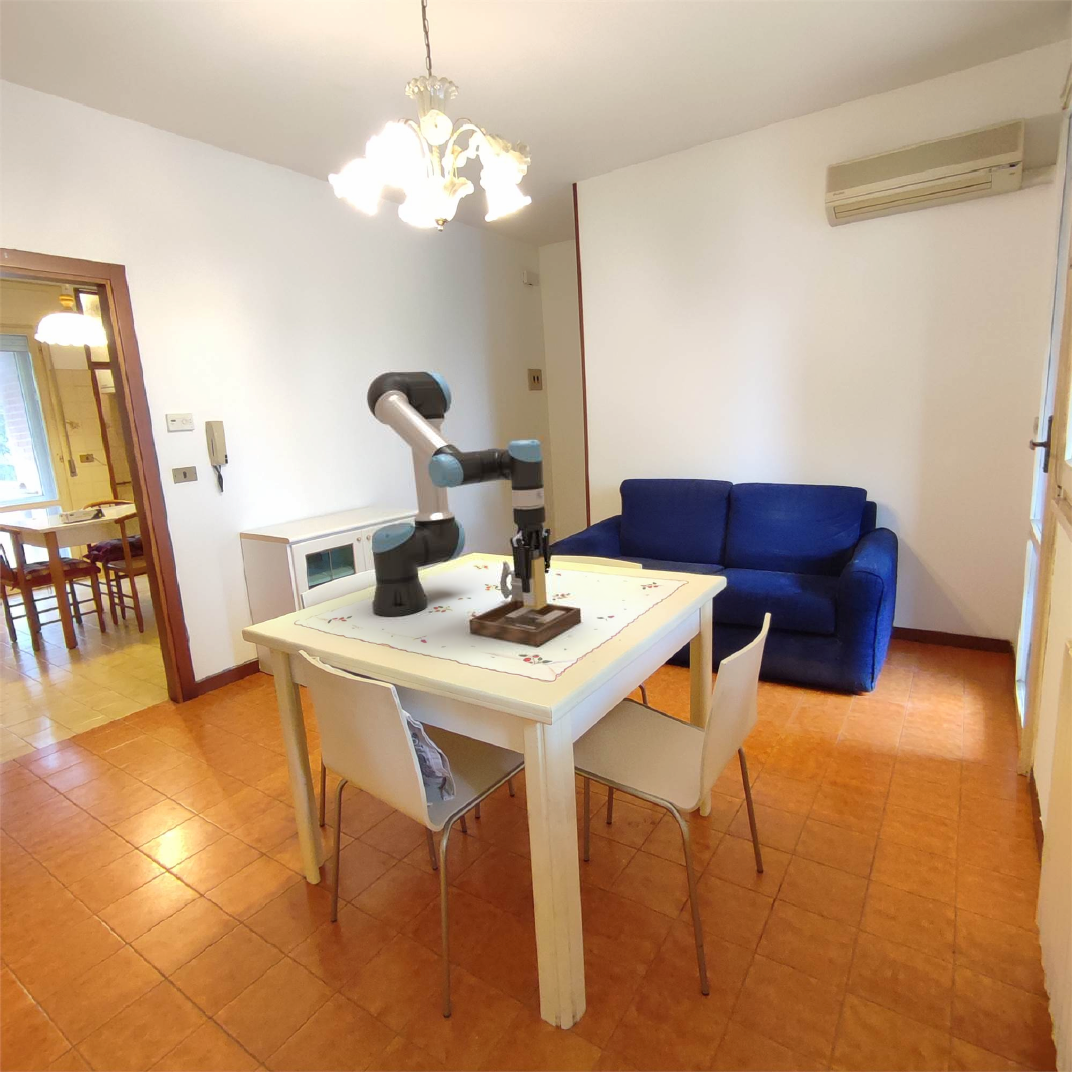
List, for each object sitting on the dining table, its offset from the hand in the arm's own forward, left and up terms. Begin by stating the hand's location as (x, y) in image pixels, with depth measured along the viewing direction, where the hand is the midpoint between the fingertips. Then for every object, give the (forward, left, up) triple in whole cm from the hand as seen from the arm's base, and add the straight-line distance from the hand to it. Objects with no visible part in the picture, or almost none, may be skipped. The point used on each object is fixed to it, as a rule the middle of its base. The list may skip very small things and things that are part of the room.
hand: (534, 601), depth 151 cm
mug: (-16, +15, -7) cm, 23 cm away
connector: (0, 0, -1) cm, 1 cm away
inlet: (0, 0, -7) cm, 7 cm away
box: (-3, 0, -7) cm, 8 cm away
